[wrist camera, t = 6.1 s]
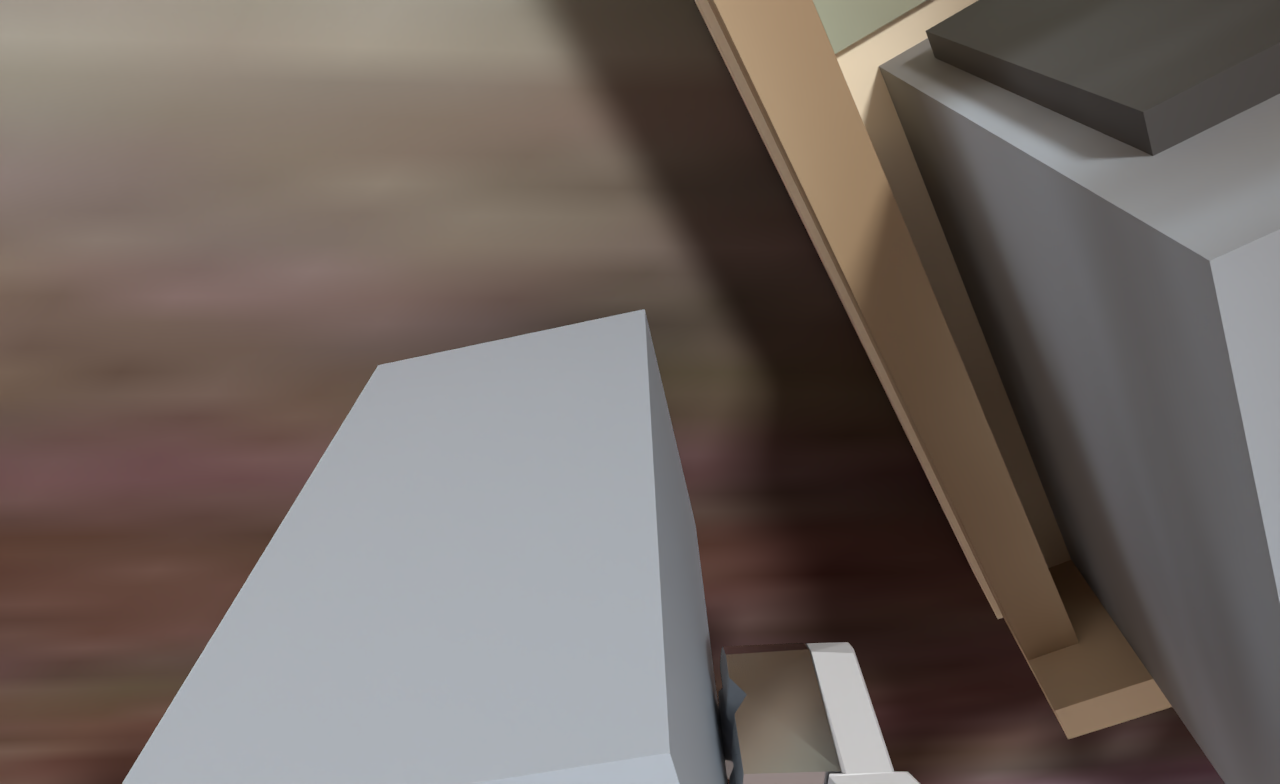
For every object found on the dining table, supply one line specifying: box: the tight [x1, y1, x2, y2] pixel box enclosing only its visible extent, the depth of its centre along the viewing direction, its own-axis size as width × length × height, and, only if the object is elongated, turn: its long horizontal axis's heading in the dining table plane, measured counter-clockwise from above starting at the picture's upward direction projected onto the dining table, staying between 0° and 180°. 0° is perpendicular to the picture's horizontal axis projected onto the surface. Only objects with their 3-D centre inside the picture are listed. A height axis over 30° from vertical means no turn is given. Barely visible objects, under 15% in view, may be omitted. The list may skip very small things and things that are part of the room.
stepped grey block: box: [122, 309, 728, 784], centre depth 9 cm, size 4×4×8 cm
